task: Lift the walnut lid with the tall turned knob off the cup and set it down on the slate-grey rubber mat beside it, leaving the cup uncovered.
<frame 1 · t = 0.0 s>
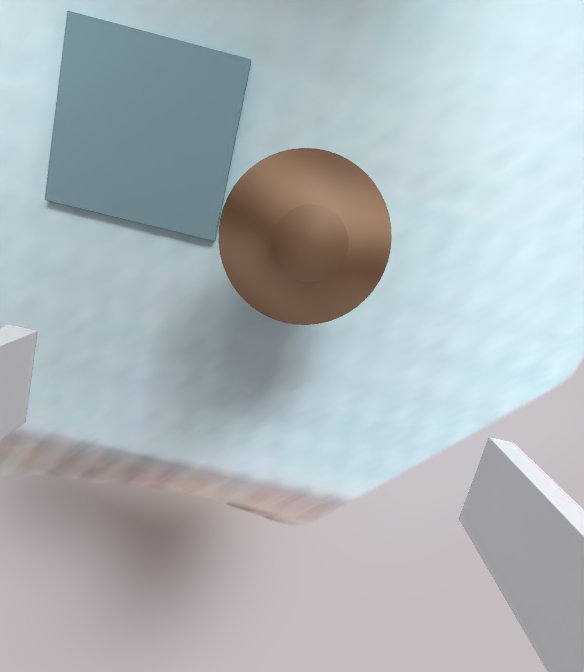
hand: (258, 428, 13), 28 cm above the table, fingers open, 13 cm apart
lid: (304, 239, 31), point 9 cm above the table, touching cup
mat: (146, 133, 38), on the table
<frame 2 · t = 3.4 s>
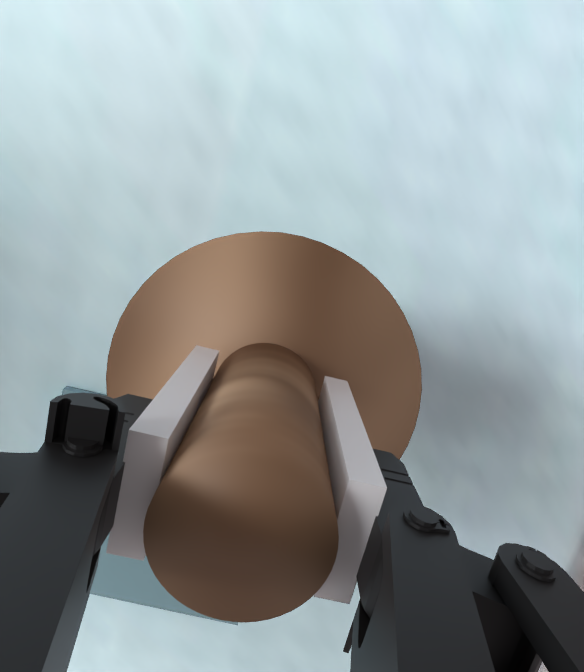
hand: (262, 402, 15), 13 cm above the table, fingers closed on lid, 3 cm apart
lid: (265, 383, 17), point 11 cm above the table, touching gripper
mat: (157, 508, 31), on the table
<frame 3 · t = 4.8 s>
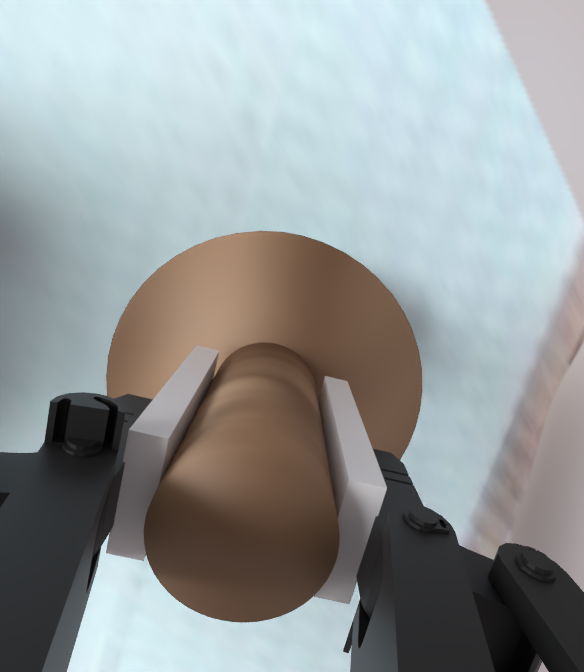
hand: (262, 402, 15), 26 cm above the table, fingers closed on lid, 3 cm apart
lid: (266, 383, 17), point 24 cm above the table, touching gripper
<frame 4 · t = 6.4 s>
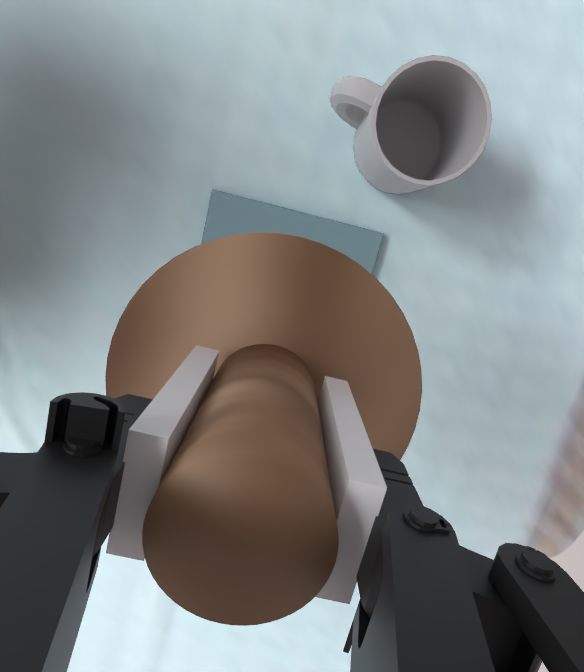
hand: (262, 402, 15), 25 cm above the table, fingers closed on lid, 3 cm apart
lid: (265, 384, 17), point 23 cm above the table, touching gripper
mat: (278, 295, 39), on the table
cup: (382, 138, 37), on the table
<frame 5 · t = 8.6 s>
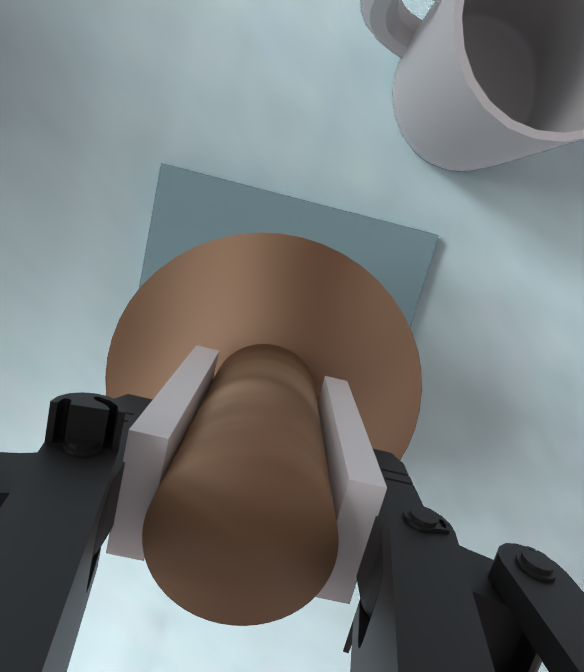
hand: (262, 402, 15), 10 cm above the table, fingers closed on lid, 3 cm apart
lid: (265, 384, 17), point 8 cm above the table, touching gripper
mat: (269, 332, 25), on the table
cup: (438, 80, 23), on the table
when the fingers open (4 cm above the table, at t = 10.2 s): lid drops 2 cm, resting on mat.
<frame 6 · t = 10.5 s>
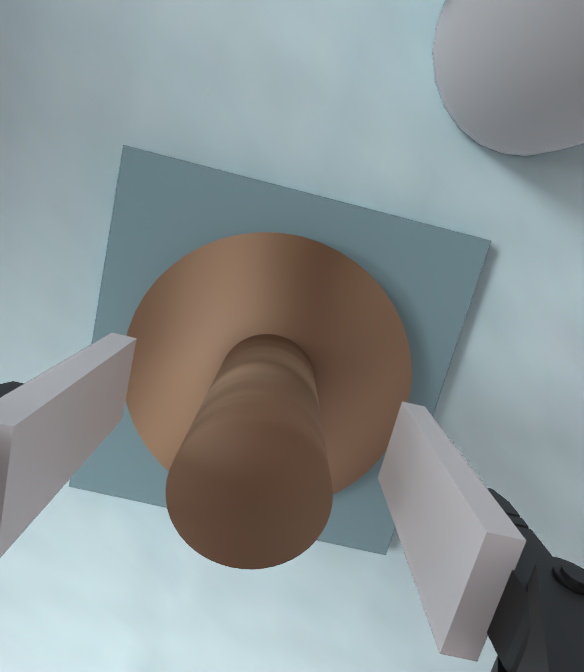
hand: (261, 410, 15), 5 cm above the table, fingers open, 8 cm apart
lid: (268, 372, 19), point 1 cm above the table, touching mat
mat: (268, 366, 19), on the table
cup: (493, 34, 17), on the table
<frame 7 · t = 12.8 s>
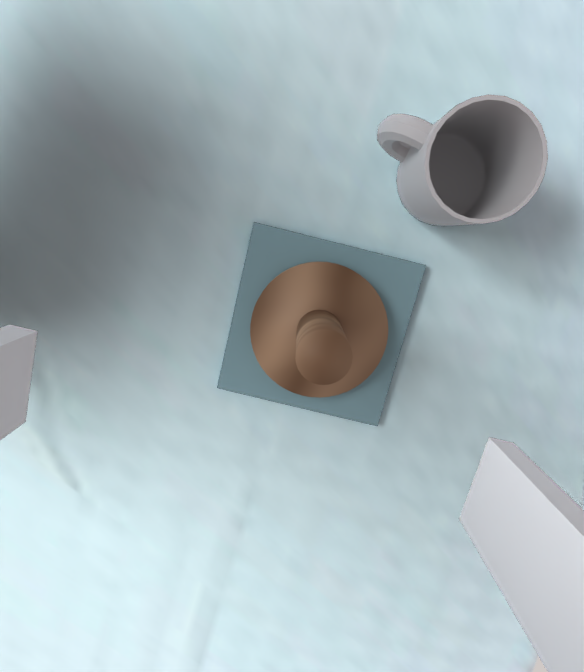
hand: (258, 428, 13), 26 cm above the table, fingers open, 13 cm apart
lid: (318, 329, 39), point 1 cm above the table, touching mat
mat: (318, 327, 39), on the table
cup: (425, 170, 37), on the table
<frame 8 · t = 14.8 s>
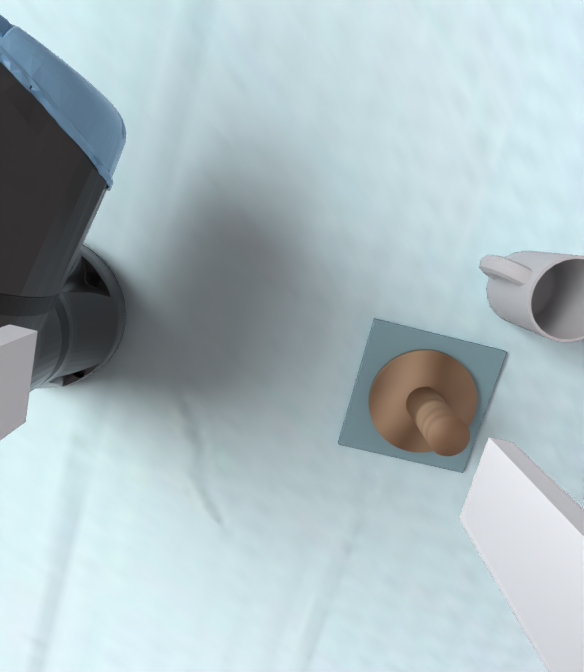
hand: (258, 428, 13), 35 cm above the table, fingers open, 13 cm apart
lid: (420, 399, 49), point 1 cm above the table, touching mat
mat: (419, 397, 50), on the table
cup: (507, 280, 47), on the table
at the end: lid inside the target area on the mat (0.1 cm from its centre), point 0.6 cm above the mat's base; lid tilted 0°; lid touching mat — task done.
